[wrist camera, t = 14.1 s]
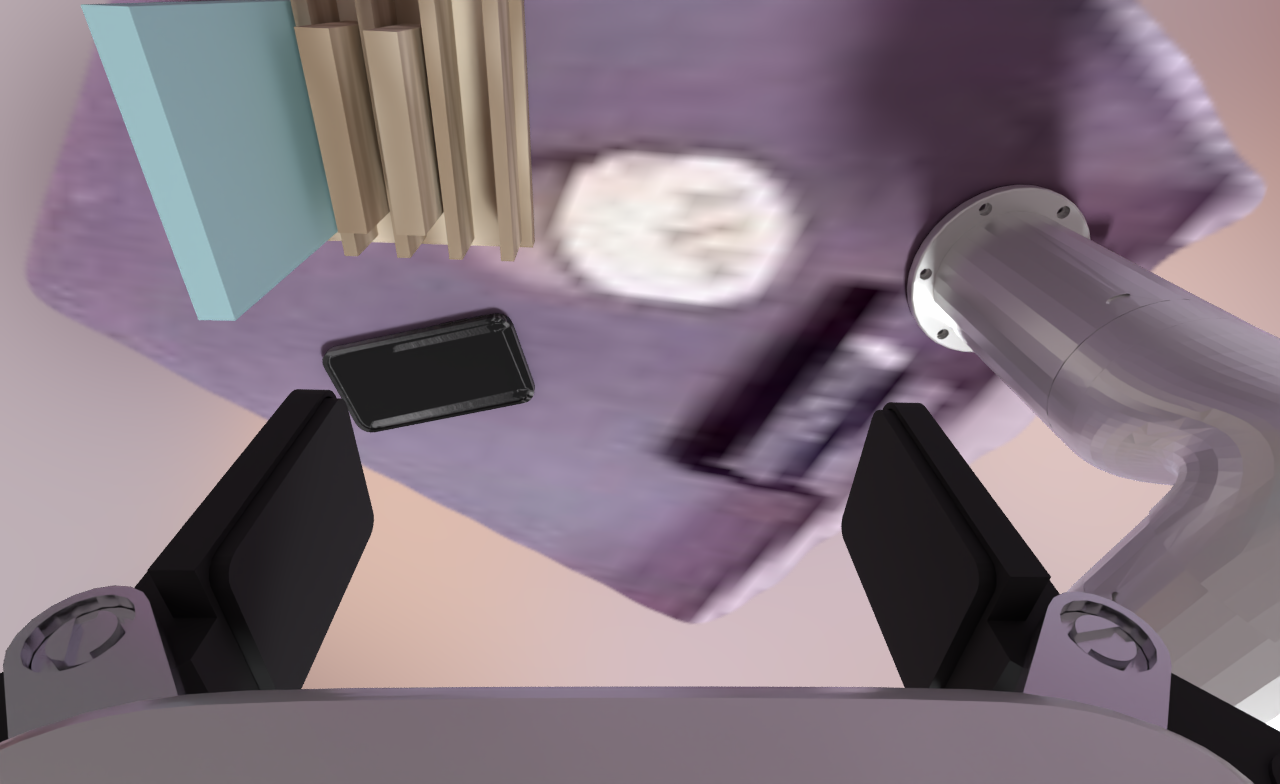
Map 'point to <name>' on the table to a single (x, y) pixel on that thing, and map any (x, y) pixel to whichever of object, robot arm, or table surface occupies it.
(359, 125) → the offcut
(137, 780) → the robot arm
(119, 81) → the tall sheet
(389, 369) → the phone
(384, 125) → the offcut
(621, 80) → the table surface
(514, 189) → the rack
